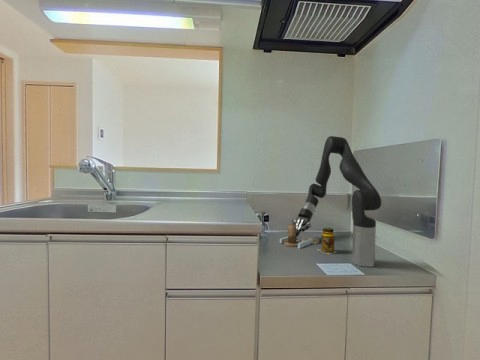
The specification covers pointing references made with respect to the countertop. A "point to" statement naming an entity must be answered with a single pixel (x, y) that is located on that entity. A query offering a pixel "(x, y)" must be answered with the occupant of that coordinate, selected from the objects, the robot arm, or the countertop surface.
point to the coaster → (313, 240)
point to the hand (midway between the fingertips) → (295, 236)
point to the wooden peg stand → (291, 236)
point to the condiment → (327, 241)
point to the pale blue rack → (299, 241)
